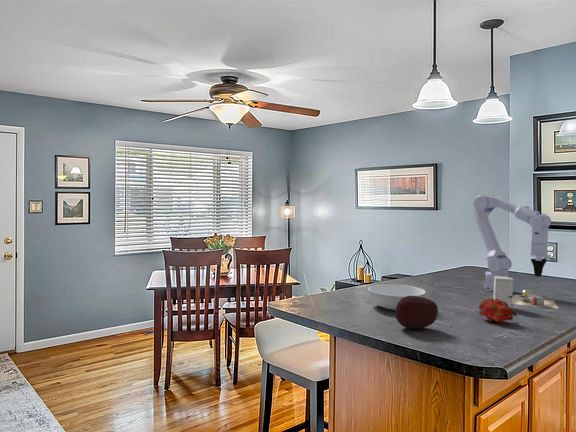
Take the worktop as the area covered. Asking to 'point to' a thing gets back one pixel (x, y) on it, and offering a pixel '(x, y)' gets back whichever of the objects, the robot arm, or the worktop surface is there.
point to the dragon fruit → (496, 310)
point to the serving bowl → (392, 294)
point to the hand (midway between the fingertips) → (537, 276)
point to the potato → (416, 312)
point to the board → (546, 304)
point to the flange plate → (538, 300)
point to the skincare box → (503, 289)
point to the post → (526, 293)
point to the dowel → (532, 300)
